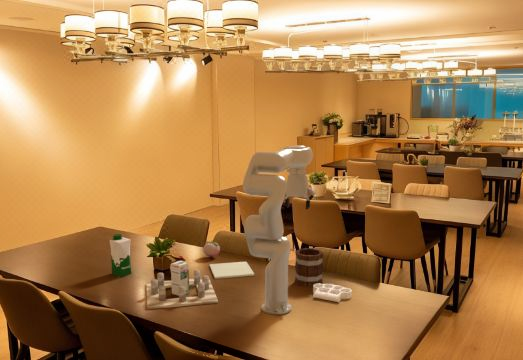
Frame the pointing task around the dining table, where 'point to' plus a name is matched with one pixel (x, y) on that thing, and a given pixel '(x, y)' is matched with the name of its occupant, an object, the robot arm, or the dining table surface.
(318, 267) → the mug
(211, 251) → the decorative fruit
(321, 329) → the dining table surface
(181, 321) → the dining table surface
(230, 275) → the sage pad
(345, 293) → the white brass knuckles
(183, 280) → the syrup box
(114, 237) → the milk carton
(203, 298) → the post board
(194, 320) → the dining table surface
